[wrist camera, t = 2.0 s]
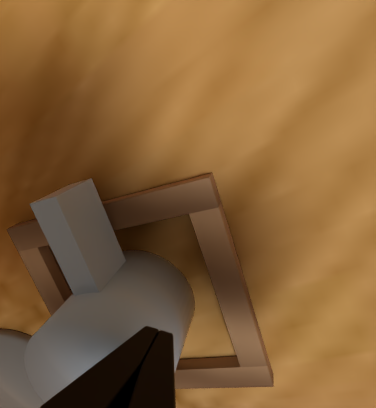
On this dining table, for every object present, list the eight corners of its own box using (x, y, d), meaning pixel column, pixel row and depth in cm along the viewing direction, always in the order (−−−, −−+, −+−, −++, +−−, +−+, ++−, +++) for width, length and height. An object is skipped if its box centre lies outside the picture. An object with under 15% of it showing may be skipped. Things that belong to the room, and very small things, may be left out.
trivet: (111, 436, 24) (106, 447, 23) (8, 432, 27) (1, 442, 27) (52, 322, 21) (44, 330, 20) (-55, 334, 24) (-65, 342, 24)
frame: (273, 374, 18) (273, 386, 17) (96, 380, 22) (90, 390, 21) (212, 173, 15) (209, 177, 14) (16, 224, 19) (6, 229, 18)
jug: (210, 342, 18) (187, 449, 13) (120, 348, 20) (66, 444, 15) (145, 159, 15) (76, 199, 10) (46, 189, 17) (-57, 235, 12)
